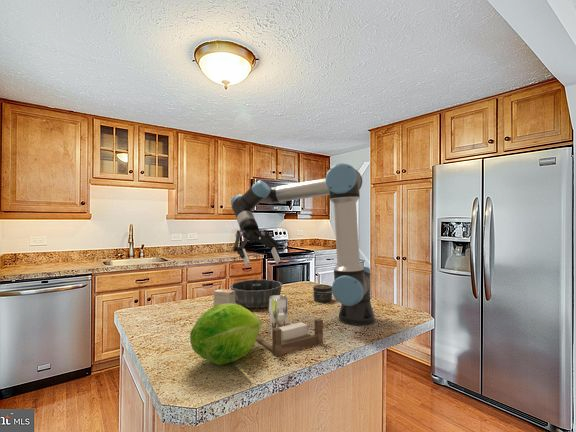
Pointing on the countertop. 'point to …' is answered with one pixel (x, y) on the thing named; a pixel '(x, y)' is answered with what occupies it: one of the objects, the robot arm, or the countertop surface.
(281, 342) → the offcut lower
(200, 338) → the lettuce
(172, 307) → the countertop surface
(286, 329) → the offcut upper
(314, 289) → the jar
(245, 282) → the bundt pan
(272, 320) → the beer glass
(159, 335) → the countertop surface
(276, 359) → the countertop surface
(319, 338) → the rack
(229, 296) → the supplement box
